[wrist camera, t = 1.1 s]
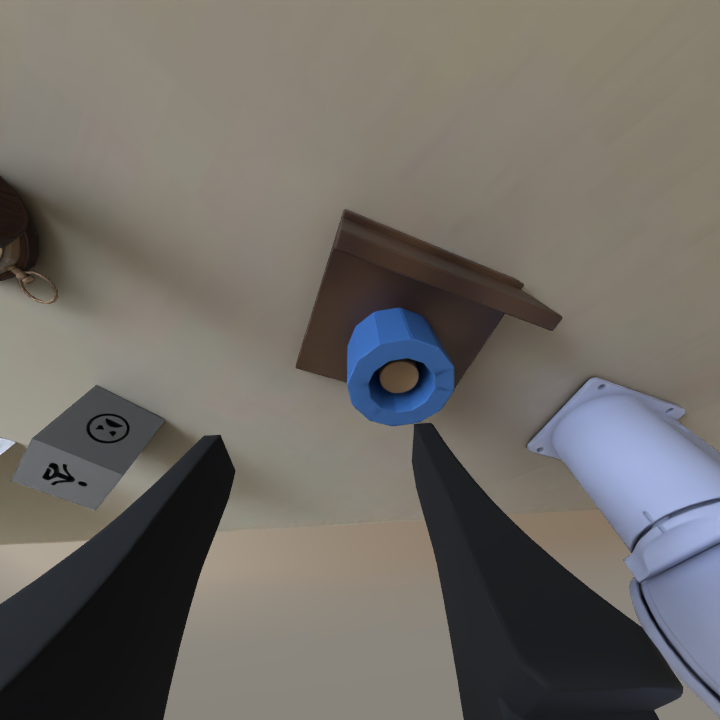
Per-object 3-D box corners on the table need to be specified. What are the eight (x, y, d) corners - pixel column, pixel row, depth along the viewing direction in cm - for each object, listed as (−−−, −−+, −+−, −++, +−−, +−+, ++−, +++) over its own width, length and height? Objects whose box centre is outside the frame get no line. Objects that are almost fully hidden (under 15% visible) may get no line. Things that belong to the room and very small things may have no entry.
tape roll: (452, 325, 18) (475, 359, 15) (412, 393, 21) (424, 435, 18) (367, 295, 17) (372, 325, 14) (337, 371, 20) (334, 411, 16)
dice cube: (95, 385, 21) (32, 438, 17) (165, 419, 23) (123, 475, 19) (73, 424, 23) (10, 480, 19) (139, 453, 25) (95, 510, 21)
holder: (516, 279, 18) (569, 311, 14) (437, 400, 23) (457, 452, 19) (344, 208, 16) (342, 220, 11) (297, 360, 20) (283, 408, 16)
